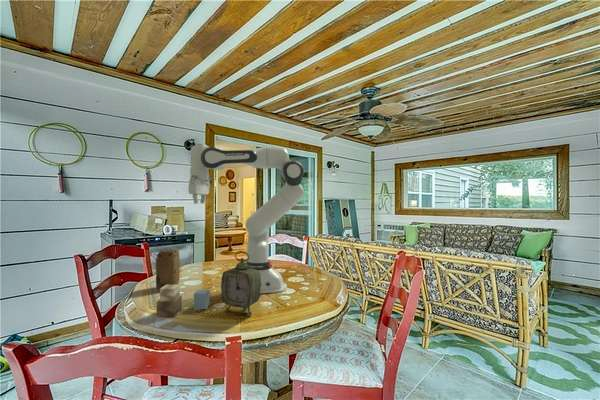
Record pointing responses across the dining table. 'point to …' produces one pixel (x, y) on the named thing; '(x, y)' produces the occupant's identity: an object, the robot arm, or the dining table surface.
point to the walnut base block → (169, 307)
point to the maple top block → (169, 292)
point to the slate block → (201, 299)
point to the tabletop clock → (241, 285)
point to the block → (167, 267)
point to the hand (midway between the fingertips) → (199, 203)
